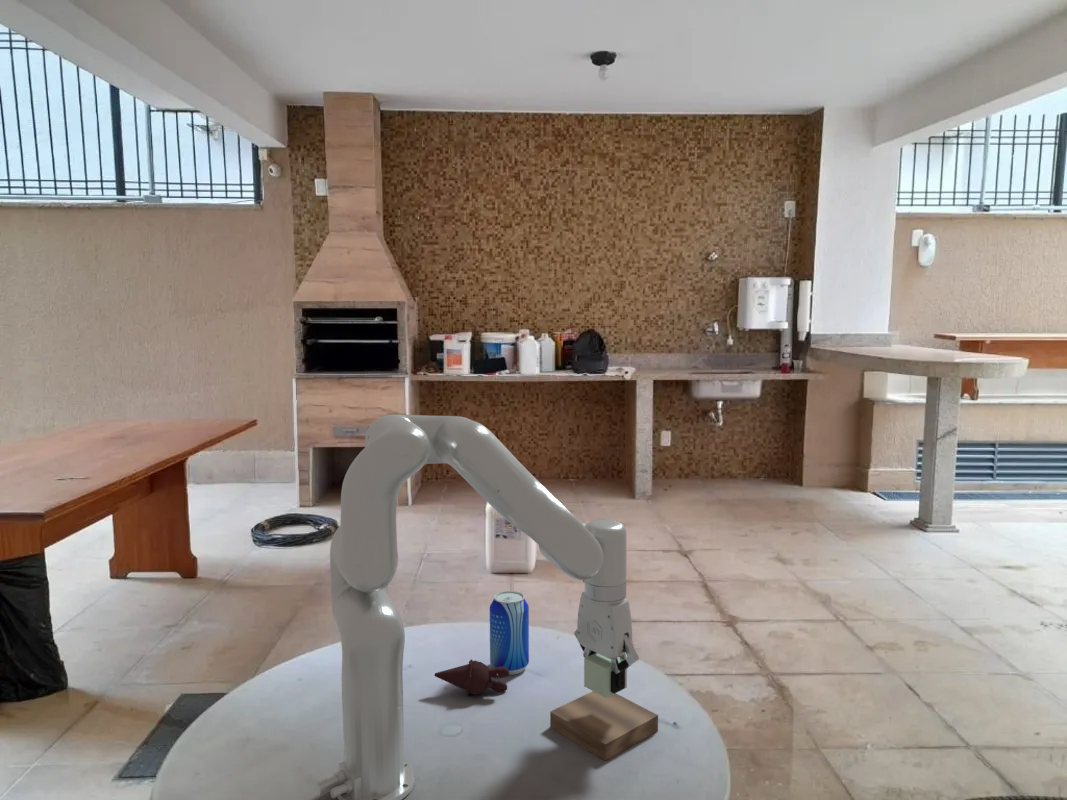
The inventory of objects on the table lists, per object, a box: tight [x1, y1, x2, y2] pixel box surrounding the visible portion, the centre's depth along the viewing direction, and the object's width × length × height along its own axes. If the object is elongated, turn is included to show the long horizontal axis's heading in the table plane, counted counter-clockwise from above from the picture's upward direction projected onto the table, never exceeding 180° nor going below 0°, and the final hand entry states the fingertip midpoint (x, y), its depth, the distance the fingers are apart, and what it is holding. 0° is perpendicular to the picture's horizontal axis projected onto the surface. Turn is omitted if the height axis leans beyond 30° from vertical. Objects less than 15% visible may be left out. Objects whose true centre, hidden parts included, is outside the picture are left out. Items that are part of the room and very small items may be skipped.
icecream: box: [434, 658, 510, 697], centre depth 148 cm, size 7×7×15 cm
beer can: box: [489, 590, 530, 676], centre depth 158 cm, size 8×8×16 cm
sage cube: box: [583, 653, 628, 698], centre depth 134 cm, size 6×6×6 cm
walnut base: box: [549, 690, 659, 762], centre depth 135 cm, size 14×14×3 cm
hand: (605, 683), depth 135 cm, fingers closed on sage cube, 5 cm apart
